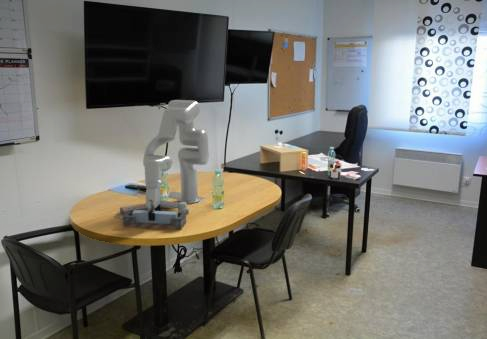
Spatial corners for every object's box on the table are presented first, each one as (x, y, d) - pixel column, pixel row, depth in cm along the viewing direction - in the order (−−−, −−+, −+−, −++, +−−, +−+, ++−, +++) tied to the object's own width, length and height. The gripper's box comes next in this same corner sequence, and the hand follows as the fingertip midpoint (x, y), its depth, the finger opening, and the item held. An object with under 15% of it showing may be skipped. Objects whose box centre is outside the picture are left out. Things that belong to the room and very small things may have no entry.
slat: (132, 222, 211) (131, 212, 209) (135, 219, 214) (134, 210, 213) (175, 224, 208) (175, 214, 207) (178, 221, 212) (177, 211, 211)
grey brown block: (149, 201, 234) (154, 206, 226) (150, 209, 235) (155, 214, 227) (116, 205, 226) (120, 211, 218) (116, 214, 227) (120, 220, 219)
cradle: (123, 227, 208) (122, 216, 207) (130, 219, 218) (130, 209, 217) (181, 229, 205) (181, 218, 204) (186, 222, 215) (185, 212, 214)
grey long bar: (155, 198, 241) (190, 200, 227) (157, 209, 242) (191, 212, 228) (149, 201, 236) (183, 202, 223) (151, 212, 238) (185, 214, 224)
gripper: (151, 178, 215) (153, 211, 219) (139, 188, 199) (141, 223, 203) (165, 179, 215) (167, 211, 219) (155, 189, 198) (157, 223, 202)
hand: (154, 217), depth 211 cm, fingers open, 9 cm apart
